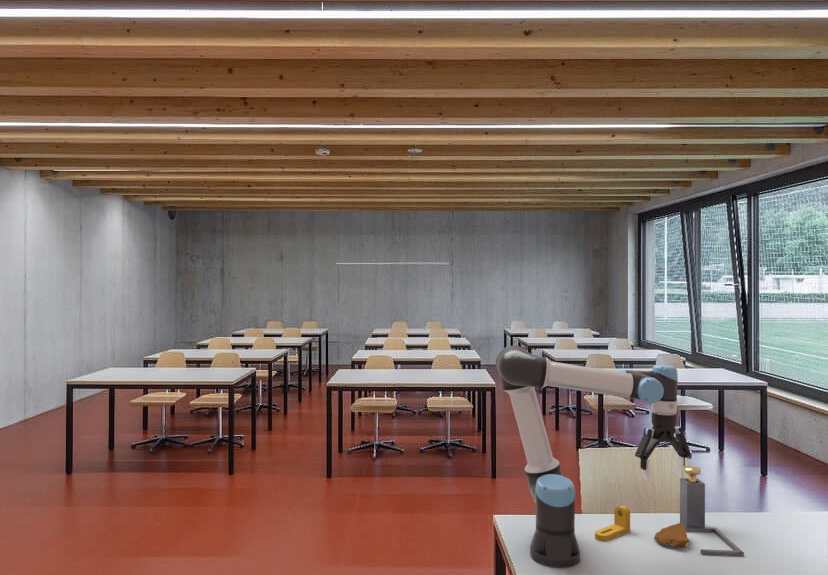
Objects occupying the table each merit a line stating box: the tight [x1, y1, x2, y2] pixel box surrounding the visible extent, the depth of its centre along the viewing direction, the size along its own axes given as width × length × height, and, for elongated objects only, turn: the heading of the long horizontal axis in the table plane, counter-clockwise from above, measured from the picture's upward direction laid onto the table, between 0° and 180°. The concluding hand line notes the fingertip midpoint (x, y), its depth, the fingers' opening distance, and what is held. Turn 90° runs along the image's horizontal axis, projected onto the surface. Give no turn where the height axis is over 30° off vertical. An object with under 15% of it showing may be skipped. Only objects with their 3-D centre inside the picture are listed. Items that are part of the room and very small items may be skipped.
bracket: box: [594, 505, 631, 542], centre depth 196 cm, size 15×4×8 cm, turn 127°
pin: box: [683, 465, 702, 483], centre depth 203 cm, size 5×5×8 cm
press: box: [679, 477, 745, 557], centre depth 193 cm, size 13×25×16 cm, turn 177°
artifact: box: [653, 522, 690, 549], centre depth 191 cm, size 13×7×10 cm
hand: (662, 477), depth 190 cm, fingers open, 13 cm apart
